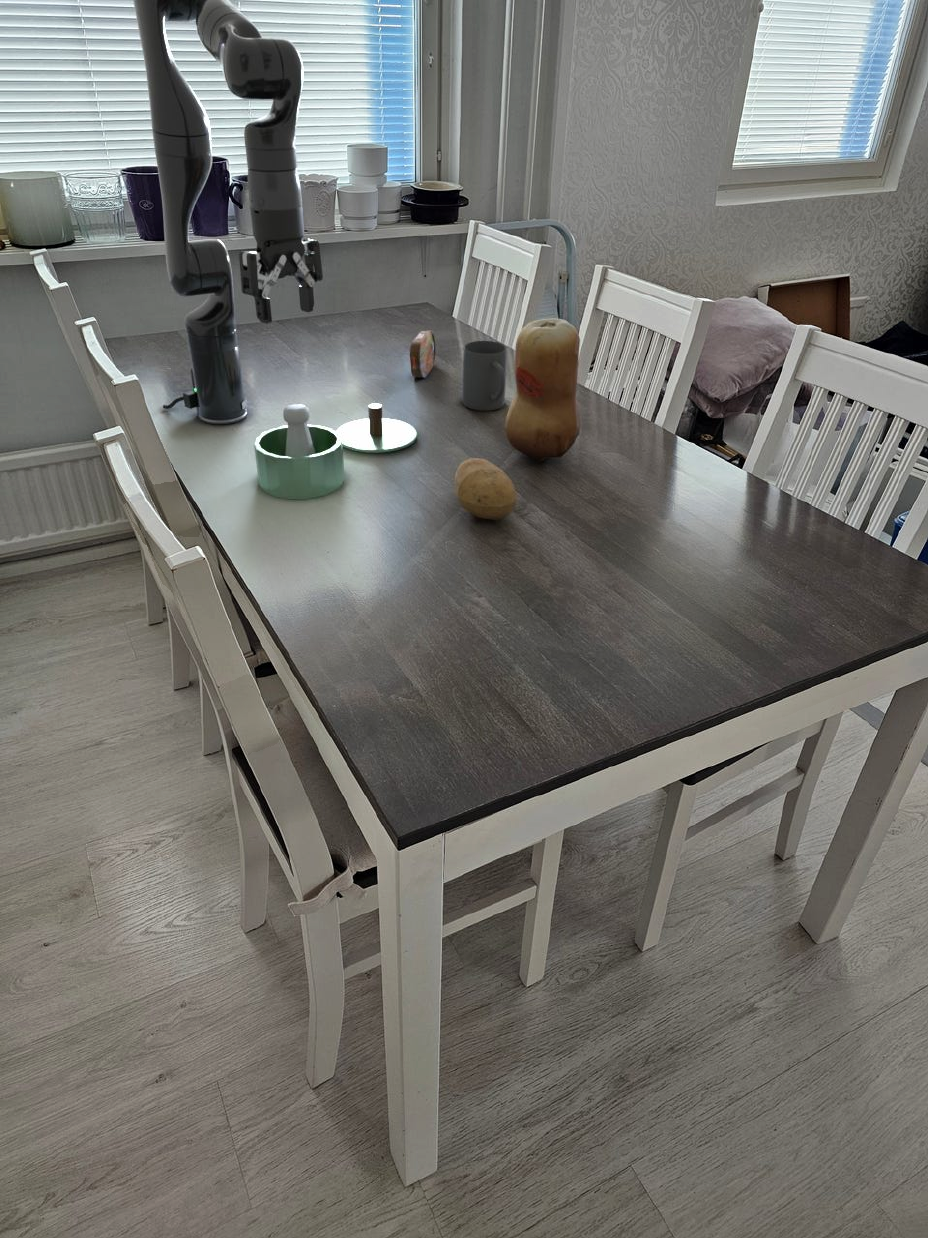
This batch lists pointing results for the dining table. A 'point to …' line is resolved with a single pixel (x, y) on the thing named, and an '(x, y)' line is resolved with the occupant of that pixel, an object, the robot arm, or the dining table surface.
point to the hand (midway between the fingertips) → (286, 316)
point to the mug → (484, 375)
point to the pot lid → (376, 433)
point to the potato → (484, 489)
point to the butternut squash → (545, 390)
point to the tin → (422, 354)
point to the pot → (300, 464)
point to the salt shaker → (298, 431)
